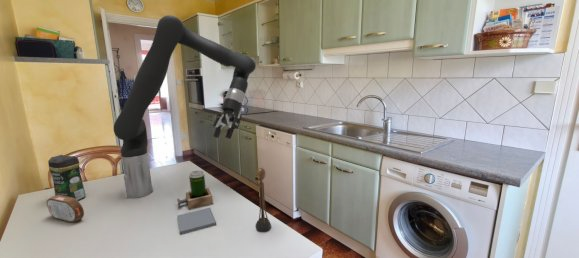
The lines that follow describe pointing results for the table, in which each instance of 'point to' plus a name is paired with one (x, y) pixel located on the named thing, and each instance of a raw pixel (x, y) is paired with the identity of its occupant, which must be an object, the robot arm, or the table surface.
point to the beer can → (197, 184)
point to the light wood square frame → (197, 200)
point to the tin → (65, 208)
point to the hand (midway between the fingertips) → (221, 137)
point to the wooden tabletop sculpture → (262, 204)
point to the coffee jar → (66, 176)
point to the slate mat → (195, 220)
